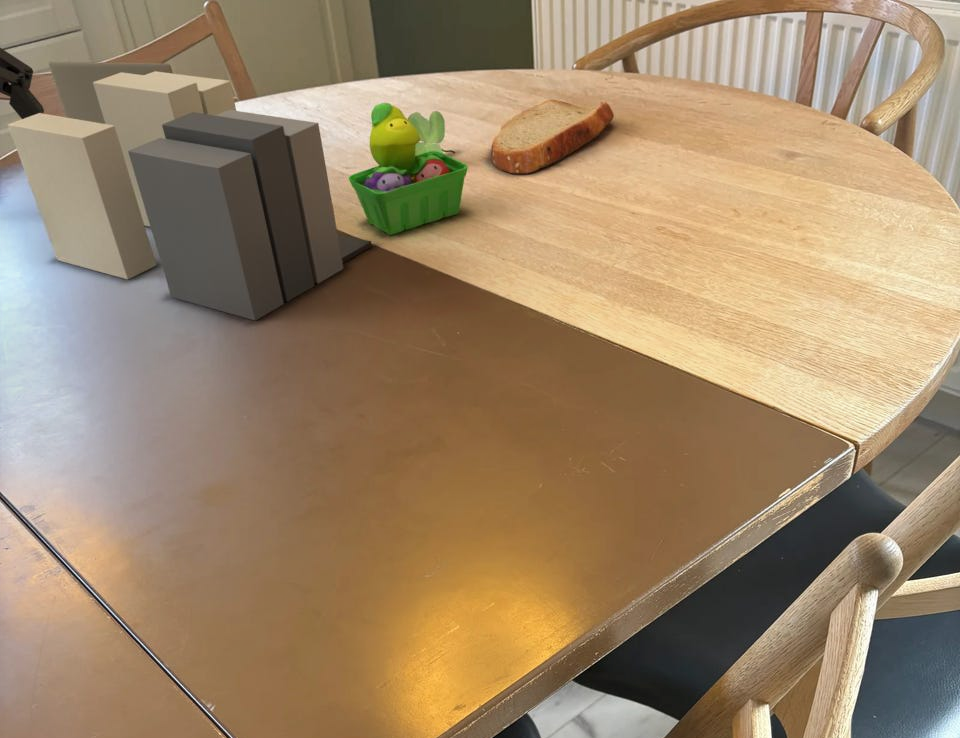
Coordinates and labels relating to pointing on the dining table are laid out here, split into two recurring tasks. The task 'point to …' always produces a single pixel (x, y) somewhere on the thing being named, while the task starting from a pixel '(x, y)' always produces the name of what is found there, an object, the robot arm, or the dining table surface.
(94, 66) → the laptop
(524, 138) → the bread slice
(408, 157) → the fruit basket
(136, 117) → the white books
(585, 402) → the dining table surface
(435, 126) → the seedling
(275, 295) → the grey books
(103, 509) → the dining table surface
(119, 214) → the white book
